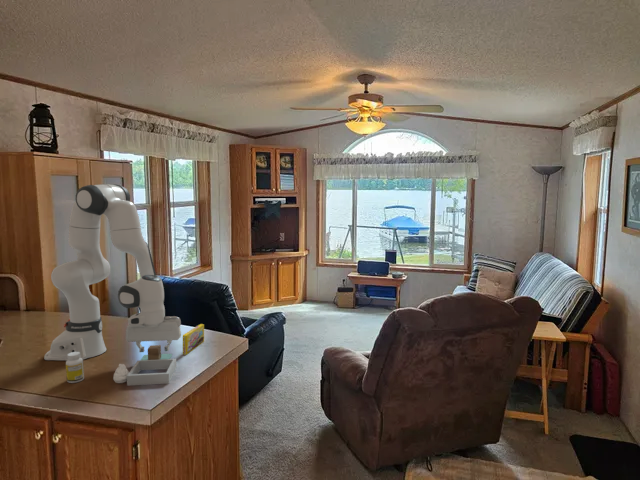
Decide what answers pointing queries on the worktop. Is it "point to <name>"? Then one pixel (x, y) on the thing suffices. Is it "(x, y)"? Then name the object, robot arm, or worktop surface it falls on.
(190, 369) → the worktop surface
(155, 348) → the walnut block
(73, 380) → the supplement bottle
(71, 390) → the worktop surface
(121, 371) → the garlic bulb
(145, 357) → the teal tile
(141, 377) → the grey bin
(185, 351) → the candy box
